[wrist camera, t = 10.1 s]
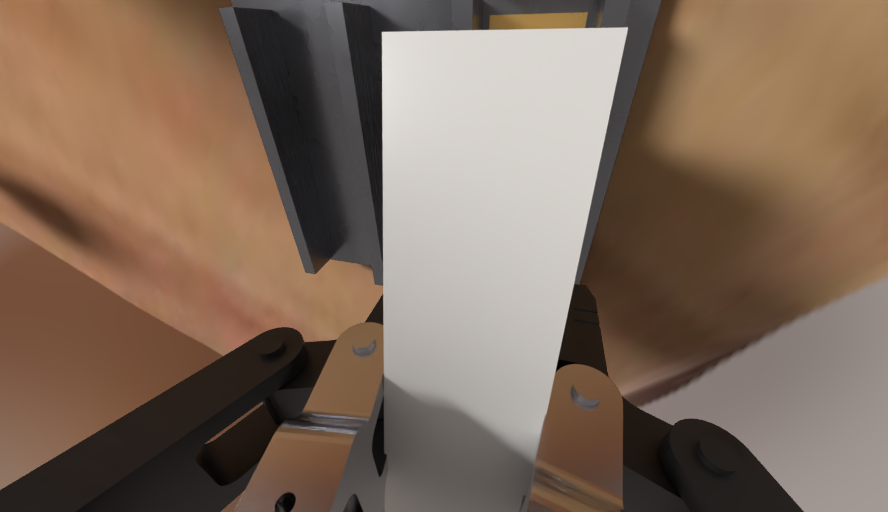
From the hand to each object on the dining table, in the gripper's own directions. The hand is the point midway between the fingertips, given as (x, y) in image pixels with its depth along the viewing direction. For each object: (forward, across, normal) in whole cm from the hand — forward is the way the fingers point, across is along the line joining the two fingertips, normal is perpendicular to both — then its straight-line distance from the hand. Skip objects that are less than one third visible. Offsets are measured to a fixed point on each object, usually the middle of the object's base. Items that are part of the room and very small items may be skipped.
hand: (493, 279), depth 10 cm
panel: (+4, 0, +2) cm, 4 cm away
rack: (+10, +5, 0) cm, 12 cm away
